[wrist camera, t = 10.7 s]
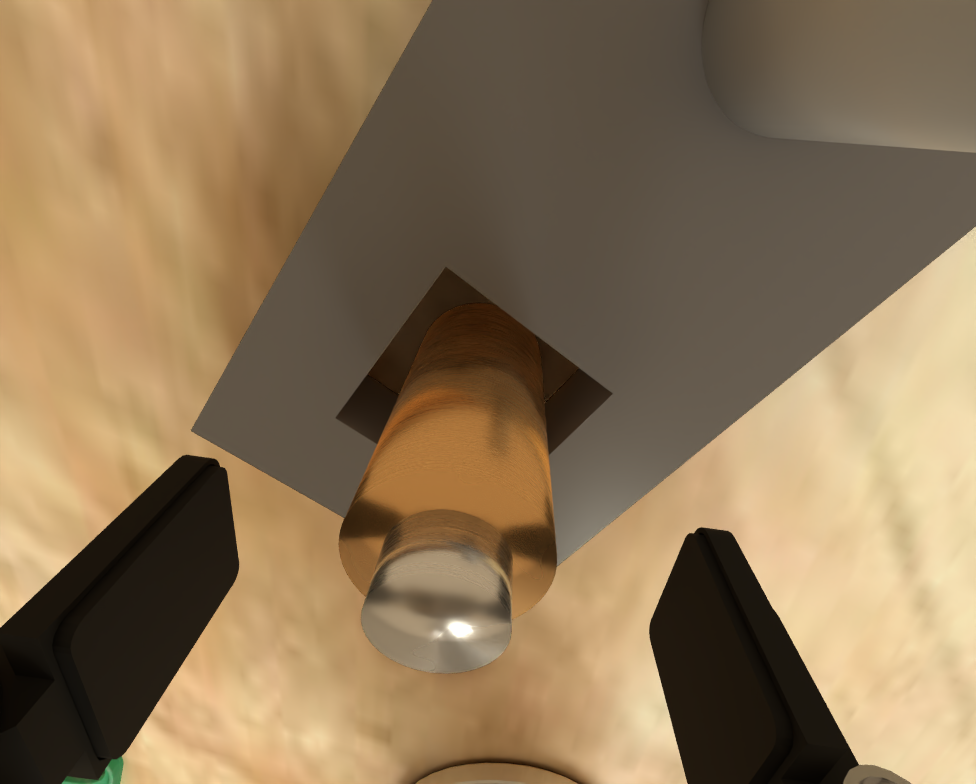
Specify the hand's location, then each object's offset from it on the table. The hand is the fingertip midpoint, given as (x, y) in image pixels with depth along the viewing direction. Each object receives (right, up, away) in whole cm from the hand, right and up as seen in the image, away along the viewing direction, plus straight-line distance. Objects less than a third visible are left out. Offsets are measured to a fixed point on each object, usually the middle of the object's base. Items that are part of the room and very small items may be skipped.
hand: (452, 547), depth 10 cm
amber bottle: (+1, +4, +6) cm, 8 cm away
